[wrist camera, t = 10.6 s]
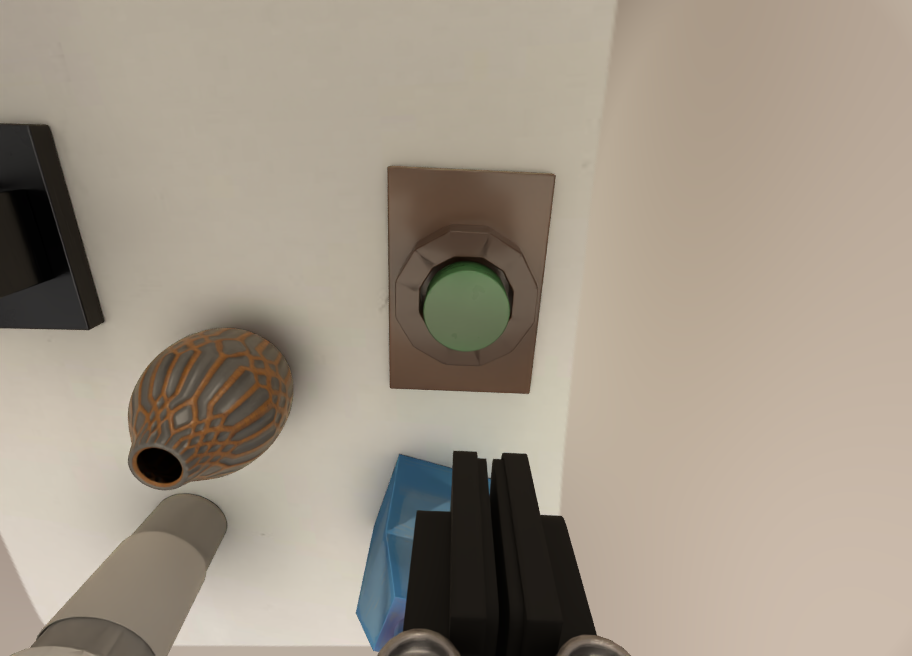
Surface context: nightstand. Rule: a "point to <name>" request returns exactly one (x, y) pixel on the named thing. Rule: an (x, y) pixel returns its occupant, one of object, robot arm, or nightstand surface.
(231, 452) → the vase
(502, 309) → the light button
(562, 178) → the nightstand surface
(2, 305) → the switch bracket
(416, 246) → the button block
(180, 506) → the cup
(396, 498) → the perfume bottle
